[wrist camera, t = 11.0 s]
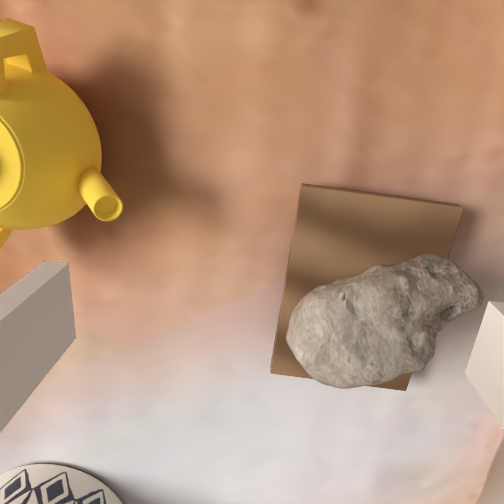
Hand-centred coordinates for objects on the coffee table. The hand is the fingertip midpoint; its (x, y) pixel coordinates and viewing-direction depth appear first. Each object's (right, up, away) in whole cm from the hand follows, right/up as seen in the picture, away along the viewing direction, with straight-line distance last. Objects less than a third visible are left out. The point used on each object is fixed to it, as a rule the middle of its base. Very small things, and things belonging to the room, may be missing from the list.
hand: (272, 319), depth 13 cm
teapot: (-19, +11, +22) cm, 31 cm away
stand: (+9, -1, +25) cm, 27 cm away
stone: (+9, -1, +23) cm, 24 cm away
